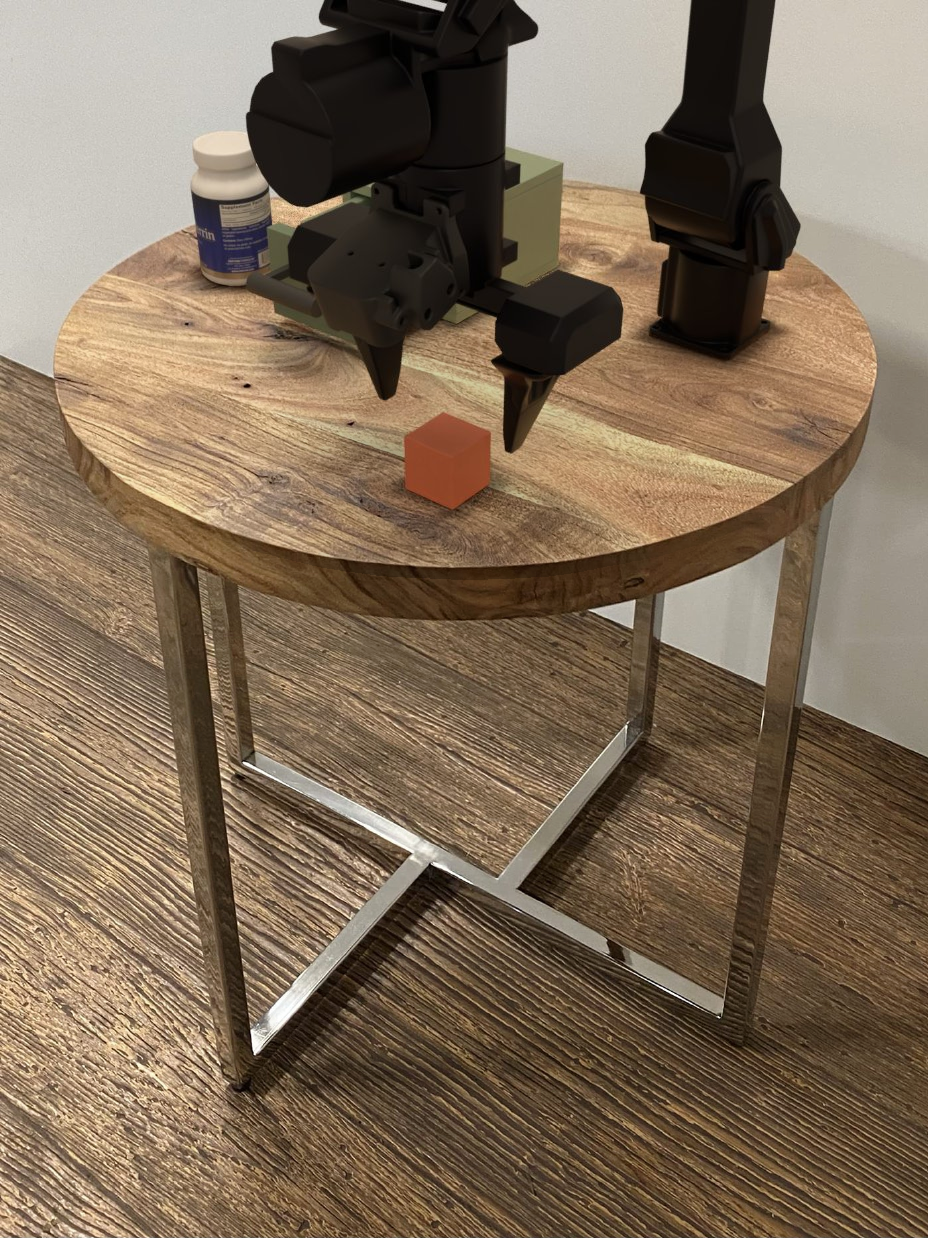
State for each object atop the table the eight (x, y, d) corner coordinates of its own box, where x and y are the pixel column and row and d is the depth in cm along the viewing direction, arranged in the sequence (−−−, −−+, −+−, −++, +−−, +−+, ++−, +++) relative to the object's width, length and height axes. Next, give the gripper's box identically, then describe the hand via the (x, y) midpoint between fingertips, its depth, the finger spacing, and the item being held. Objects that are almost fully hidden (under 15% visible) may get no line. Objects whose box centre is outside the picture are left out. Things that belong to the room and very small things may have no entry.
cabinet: (456, 324, 93) (456, 214, 88) (346, 283, 98) (341, 177, 93) (558, 266, 101) (563, 162, 96) (451, 231, 106) (451, 131, 101)
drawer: (334, 374, 86) (328, 284, 82) (234, 332, 90) (224, 245, 86) (478, 294, 95) (479, 210, 91) (381, 260, 100) (378, 178, 96)
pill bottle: (193, 263, 101) (176, 133, 95) (264, 252, 103) (252, 123, 96) (212, 293, 97) (196, 159, 91) (286, 281, 99) (275, 148, 92)
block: (490, 483, 77) (491, 431, 75) (452, 510, 75) (452, 457, 73) (443, 463, 79) (443, 411, 77) (404, 489, 77) (403, 436, 75)
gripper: (197, 150, 64) (231, 426, 74) (499, 250, 55) (492, 548, 65) (350, 94, 71) (362, 354, 81) (641, 175, 62) (615, 456, 72)
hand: (448, 423), depth 74 cm, fingers open, 9 cm apart
